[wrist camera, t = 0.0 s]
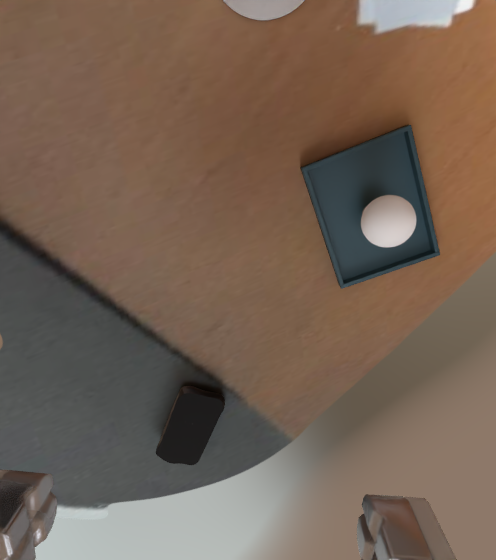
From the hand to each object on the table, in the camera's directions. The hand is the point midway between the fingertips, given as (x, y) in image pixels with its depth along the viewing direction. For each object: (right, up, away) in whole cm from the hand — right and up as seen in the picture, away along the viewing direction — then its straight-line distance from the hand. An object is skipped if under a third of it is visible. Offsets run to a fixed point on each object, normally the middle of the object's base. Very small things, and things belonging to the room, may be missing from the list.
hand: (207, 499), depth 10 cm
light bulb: (+19, +16, +45) cm, 51 cm away
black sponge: (-9, -20, +59) cm, 63 cm away
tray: (+19, +16, +45) cm, 51 cm away
